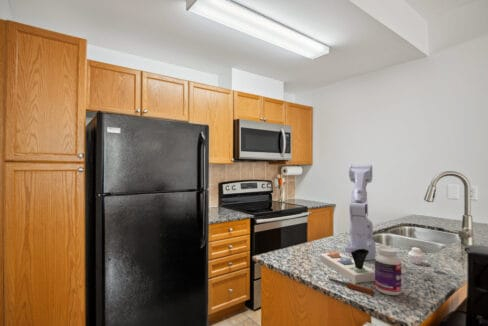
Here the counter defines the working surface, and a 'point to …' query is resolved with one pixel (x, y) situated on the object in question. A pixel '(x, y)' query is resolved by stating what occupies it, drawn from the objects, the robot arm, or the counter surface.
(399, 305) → the counter surface
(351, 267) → the button panel
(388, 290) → the pill bottle
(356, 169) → the robot arm
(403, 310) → the counter surface
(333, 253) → the terracotta button
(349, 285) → the kitchen knife
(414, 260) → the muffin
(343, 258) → the blue button
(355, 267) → the green button
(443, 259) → the counter surface
